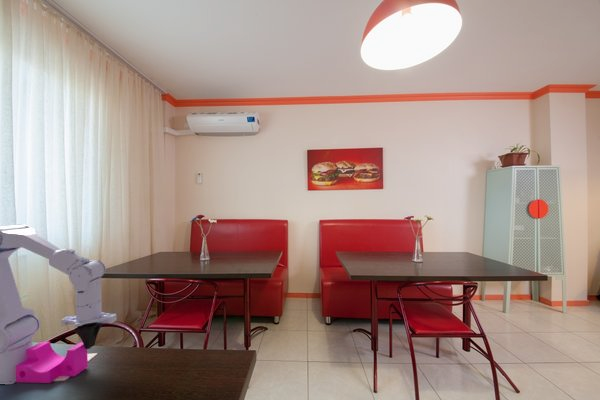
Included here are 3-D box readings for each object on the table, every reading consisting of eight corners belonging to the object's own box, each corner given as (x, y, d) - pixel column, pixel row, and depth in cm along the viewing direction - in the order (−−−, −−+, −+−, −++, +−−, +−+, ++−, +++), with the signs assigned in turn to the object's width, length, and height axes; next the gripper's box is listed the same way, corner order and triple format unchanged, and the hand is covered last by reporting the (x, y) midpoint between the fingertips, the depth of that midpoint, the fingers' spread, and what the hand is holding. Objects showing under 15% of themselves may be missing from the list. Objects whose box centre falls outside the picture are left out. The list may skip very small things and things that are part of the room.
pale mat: (37, 382, 64) (37, 381, 64) (74, 355, 75) (74, 354, 75) (65, 380, 64) (65, 379, 64) (97, 354, 75) (97, 353, 75)
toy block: (16, 382, 64) (15, 355, 64) (42, 365, 70) (41, 341, 70) (64, 383, 63) (64, 356, 63) (87, 366, 69) (86, 342, 69)
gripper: (50, 309, 64) (51, 357, 64) (103, 307, 65) (104, 354, 65) (73, 299, 71) (74, 341, 72) (121, 296, 72) (122, 339, 72)
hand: (90, 346), depth 69 cm, fingers closed
